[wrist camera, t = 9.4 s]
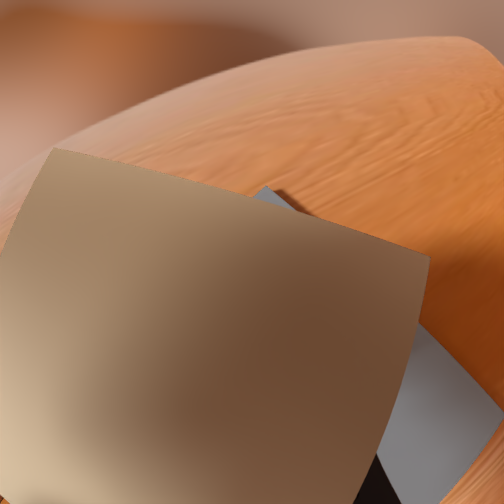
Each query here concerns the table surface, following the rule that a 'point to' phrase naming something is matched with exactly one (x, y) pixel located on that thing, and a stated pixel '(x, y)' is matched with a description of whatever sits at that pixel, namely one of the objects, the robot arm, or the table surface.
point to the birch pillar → (193, 343)
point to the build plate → (431, 418)
